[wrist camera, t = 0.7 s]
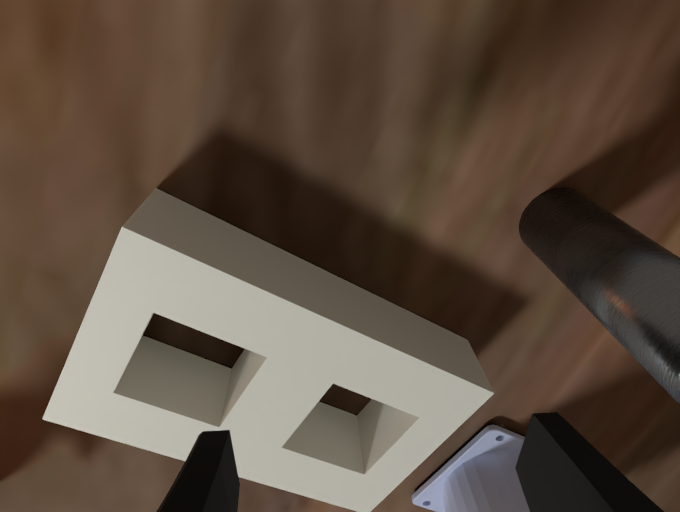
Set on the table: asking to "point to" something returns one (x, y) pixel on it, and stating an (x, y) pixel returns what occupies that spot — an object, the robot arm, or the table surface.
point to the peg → (612, 276)
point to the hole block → (262, 362)
